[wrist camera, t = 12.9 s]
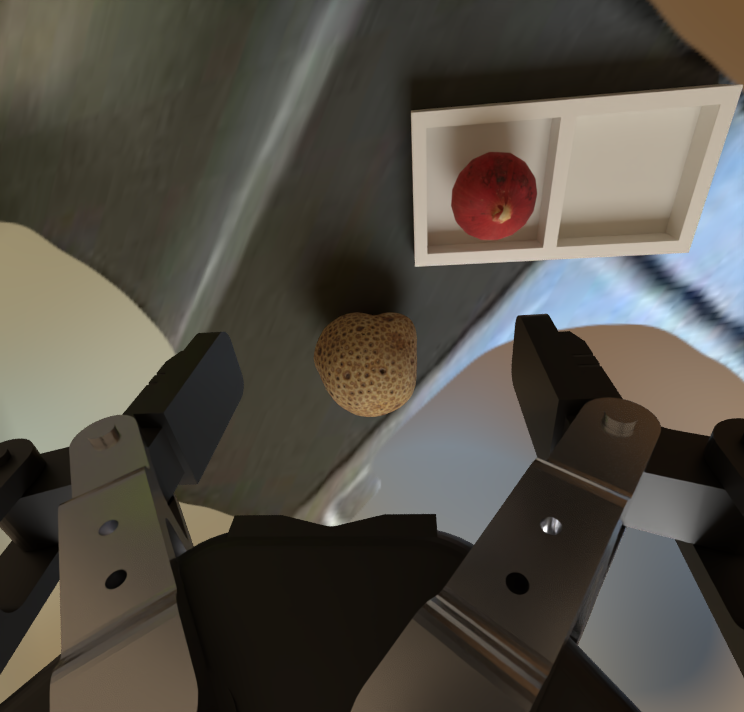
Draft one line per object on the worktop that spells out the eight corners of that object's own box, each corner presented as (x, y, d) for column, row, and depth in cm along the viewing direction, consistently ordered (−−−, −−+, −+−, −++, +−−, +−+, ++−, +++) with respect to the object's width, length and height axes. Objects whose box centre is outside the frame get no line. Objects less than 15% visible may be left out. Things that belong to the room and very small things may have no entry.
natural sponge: (314, 356, 44) (293, 422, 36) (335, 278, 39) (317, 332, 31) (399, 380, 45) (398, 449, 36) (430, 306, 40) (437, 366, 32)
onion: (451, 144, 32) (463, 162, 25) (530, 145, 32) (563, 163, 25) (444, 223, 35) (453, 257, 29) (515, 224, 35) (542, 259, 28)
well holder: (410, 110, 32) (411, 112, 29) (718, 84, 30) (743, 84, 27) (414, 255, 38) (415, 266, 35) (671, 241, 36) (688, 252, 33)
